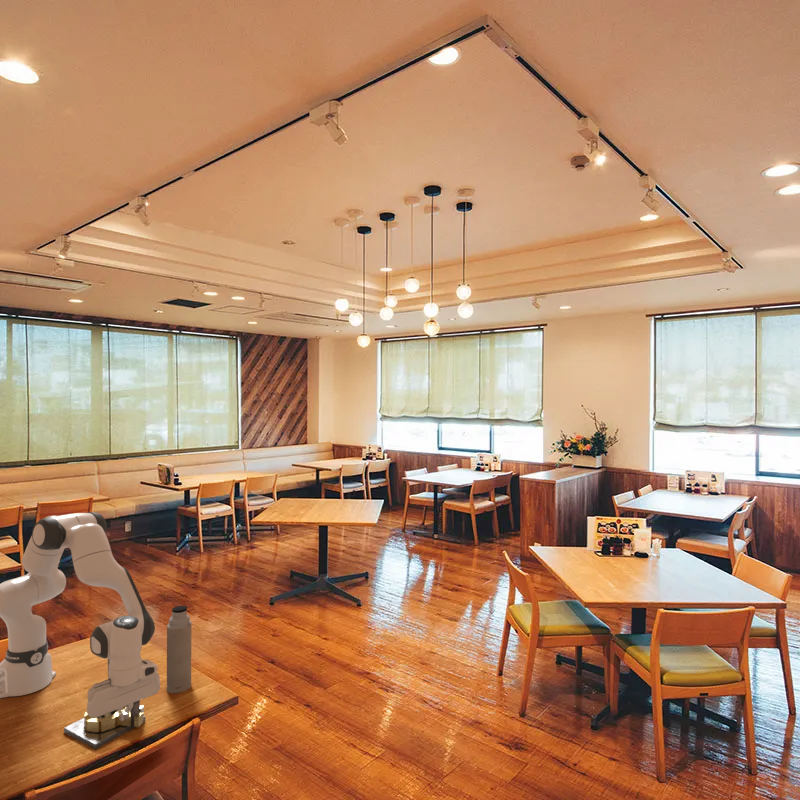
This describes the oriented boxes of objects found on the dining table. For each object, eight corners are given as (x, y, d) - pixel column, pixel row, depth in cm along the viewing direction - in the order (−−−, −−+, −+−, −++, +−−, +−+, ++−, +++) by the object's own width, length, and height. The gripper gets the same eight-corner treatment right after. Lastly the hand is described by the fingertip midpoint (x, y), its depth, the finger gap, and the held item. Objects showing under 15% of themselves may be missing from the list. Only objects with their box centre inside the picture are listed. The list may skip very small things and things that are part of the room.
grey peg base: (64, 732, 167) (64, 698, 167) (114, 707, 181) (114, 675, 181) (98, 751, 158) (98, 714, 158) (148, 722, 172) (148, 689, 172)
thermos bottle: (162, 693, 189) (163, 612, 189) (172, 681, 197) (172, 603, 197) (186, 693, 189) (186, 612, 189) (194, 681, 197) (194, 603, 197)
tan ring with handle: (76, 730, 165) (76, 703, 165) (101, 709, 176) (101, 684, 176) (129, 735, 162) (129, 708, 162) (151, 714, 173) (151, 689, 173)
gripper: (92, 690, 155) (91, 739, 155) (162, 664, 171) (162, 709, 171) (83, 682, 159) (82, 730, 159) (153, 658, 175) (152, 701, 175)
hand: (124, 719), depth 165 cm, fingers closed
